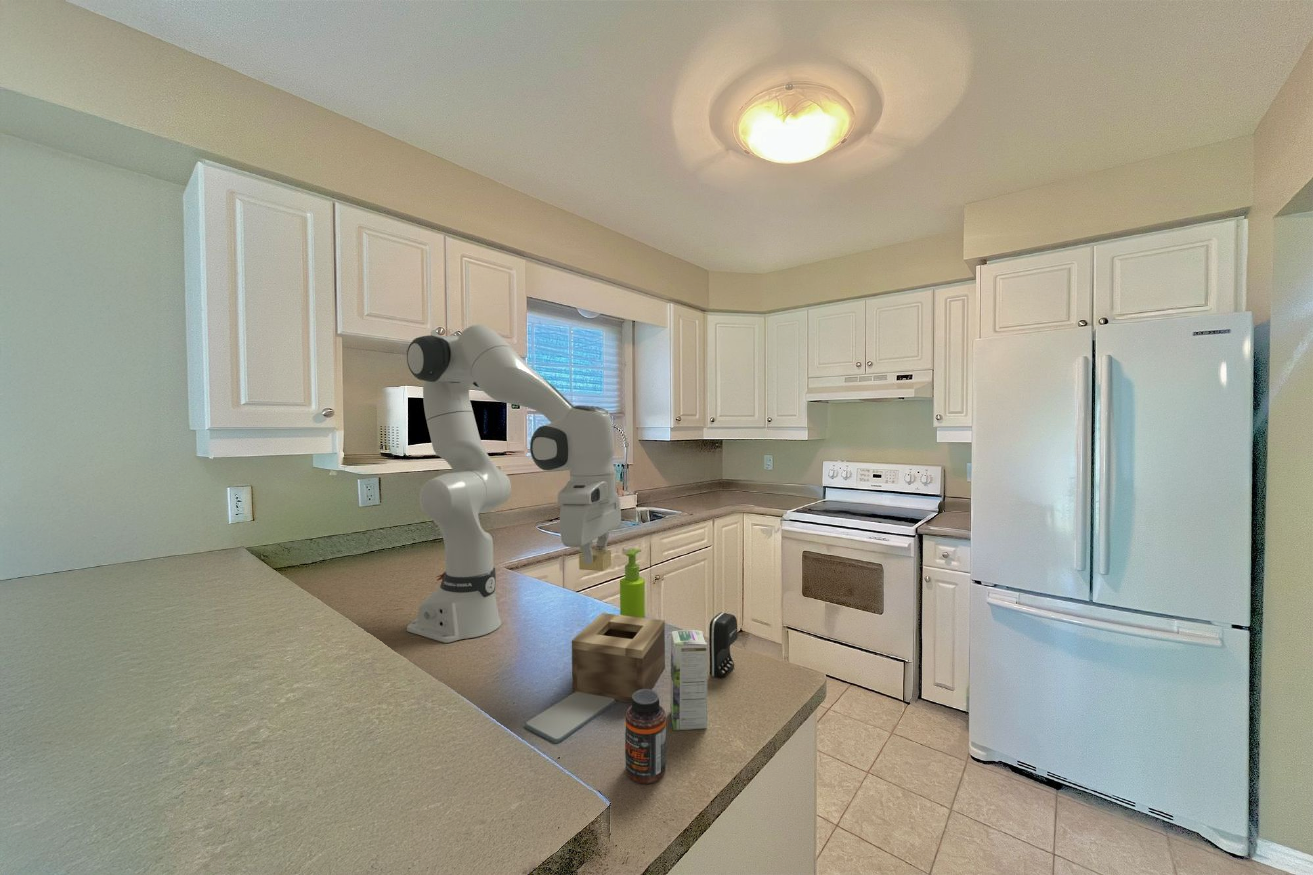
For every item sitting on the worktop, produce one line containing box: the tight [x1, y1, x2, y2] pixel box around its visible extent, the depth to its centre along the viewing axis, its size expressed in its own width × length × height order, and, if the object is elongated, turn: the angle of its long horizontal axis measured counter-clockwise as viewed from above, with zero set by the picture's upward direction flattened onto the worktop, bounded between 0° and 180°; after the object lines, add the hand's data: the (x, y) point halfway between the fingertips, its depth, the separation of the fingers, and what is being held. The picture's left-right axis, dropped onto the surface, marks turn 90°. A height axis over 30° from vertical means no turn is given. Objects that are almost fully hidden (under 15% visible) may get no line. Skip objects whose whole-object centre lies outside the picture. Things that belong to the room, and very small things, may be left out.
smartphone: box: [524, 692, 617, 744], centre depth 88 cm, size 8×1×15 cm
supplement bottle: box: [624, 689, 667, 785], centre depth 73 cm, size 6×6×11 cm
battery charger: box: [708, 612, 739, 679], centre depth 102 cm, size 7×4×11 cm, turn 149°
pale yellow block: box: [578, 548, 612, 572], centre depth 99 cm, size 5×4×3 cm
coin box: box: [571, 612, 666, 704], centre depth 99 cm, size 14×14×10 cm
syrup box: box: [670, 629, 709, 731], centre depth 86 cm, size 6×6×14 cm
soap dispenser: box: [619, 548, 646, 618], centre depth 121 cm, size 6×7×20 cm
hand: (595, 559), depth 99 cm, fingers closed on pale yellow block, 4 cm apart
